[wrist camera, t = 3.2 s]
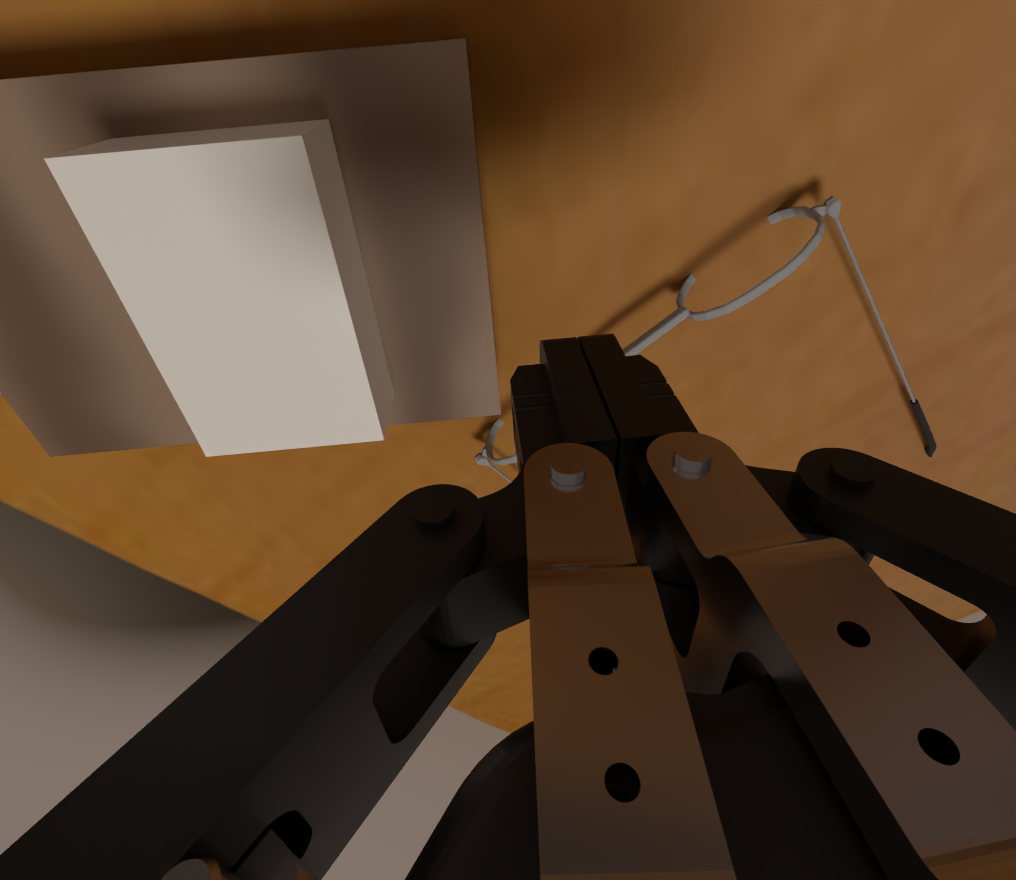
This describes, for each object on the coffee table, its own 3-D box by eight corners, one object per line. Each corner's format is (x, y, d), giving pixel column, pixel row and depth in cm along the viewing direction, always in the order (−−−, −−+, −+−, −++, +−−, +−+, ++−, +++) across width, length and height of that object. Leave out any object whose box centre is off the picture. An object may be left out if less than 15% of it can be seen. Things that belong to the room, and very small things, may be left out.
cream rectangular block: (328, 119, 15) (301, 135, 12) (393, 392, 20) (383, 440, 18) (112, 138, 15) (43, 158, 12) (236, 406, 20) (206, 456, 18)
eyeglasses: (803, 173, 21) (866, 201, 17) (922, 442, 30) (976, 491, 27) (467, 429, 27) (468, 482, 24) (654, 583, 37) (672, 635, 34)
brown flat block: (465, 37, 17) (465, 38, 14) (496, 364, 24) (501, 414, 21) (-98, 87, 17) (-228, 100, 14) (104, 401, 24) (50, 456, 21)
